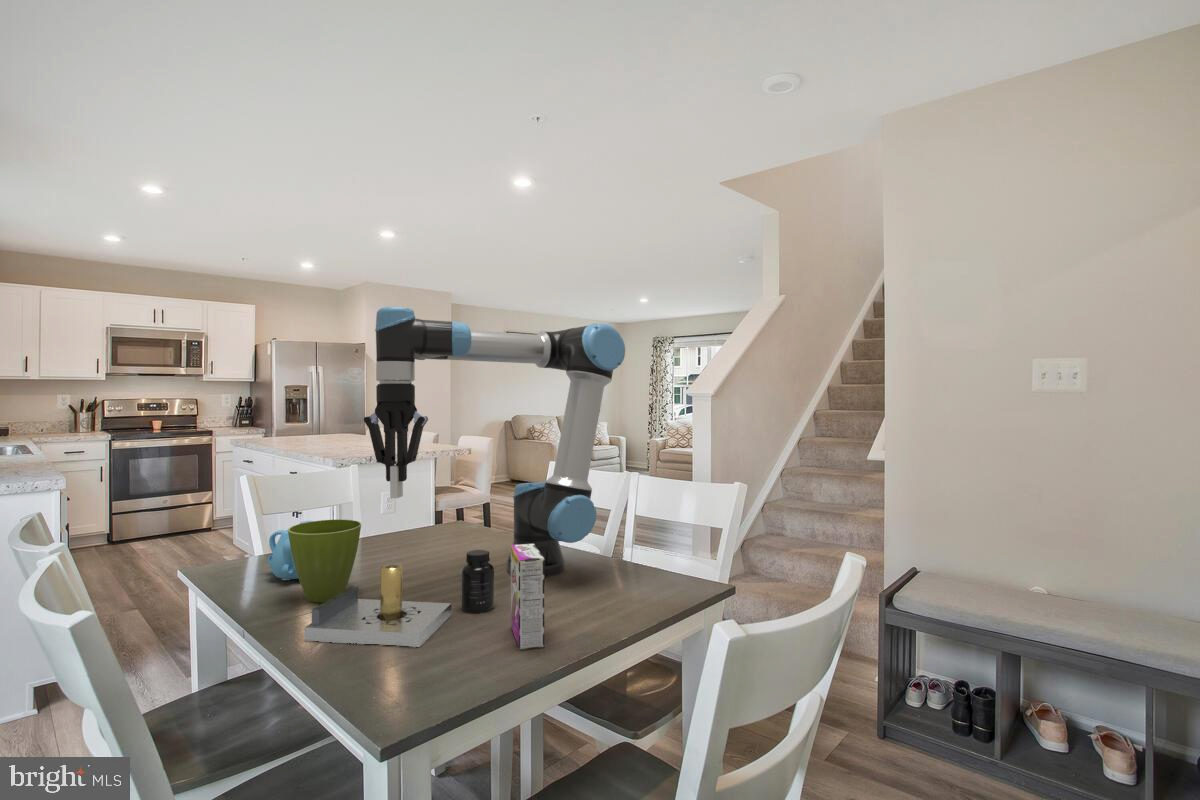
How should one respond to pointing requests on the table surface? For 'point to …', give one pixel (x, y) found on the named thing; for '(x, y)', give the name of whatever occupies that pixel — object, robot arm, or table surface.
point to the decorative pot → (282, 556)
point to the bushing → (391, 592)
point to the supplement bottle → (477, 582)
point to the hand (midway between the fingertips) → (396, 497)
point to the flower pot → (324, 556)
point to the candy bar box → (527, 596)
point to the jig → (373, 621)
